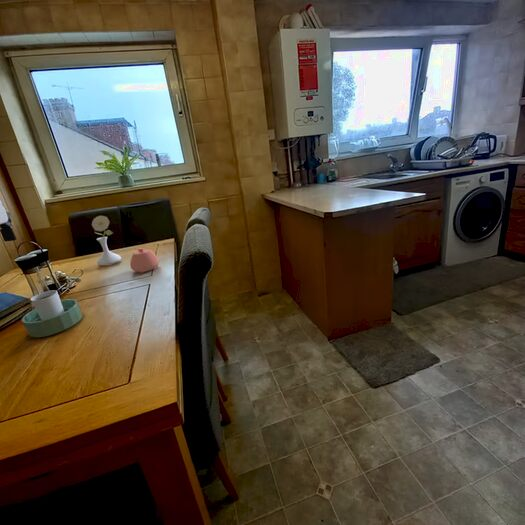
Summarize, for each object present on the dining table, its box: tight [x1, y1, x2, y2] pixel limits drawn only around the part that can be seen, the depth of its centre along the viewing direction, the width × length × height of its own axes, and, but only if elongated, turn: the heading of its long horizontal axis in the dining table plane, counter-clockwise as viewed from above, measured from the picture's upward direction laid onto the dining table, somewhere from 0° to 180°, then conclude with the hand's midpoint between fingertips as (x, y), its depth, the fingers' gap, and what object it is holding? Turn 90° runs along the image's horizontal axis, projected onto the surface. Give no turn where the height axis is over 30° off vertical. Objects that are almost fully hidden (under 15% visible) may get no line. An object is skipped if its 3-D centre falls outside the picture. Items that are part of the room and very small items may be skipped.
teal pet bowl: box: [21, 298, 83, 338], centre depth 87 cm, size 14×14×6 cm
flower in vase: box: [91, 215, 122, 267], centre depth 140 cm, size 13×11×25 cm
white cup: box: [30, 290, 64, 320], centre depth 86 cm, size 7×7×10 cm
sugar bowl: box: [129, 247, 160, 274], centre depth 127 cm, size 12×14×10 cm
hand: (0, 244), depth 84 cm, fingers open, 9 cm apart
